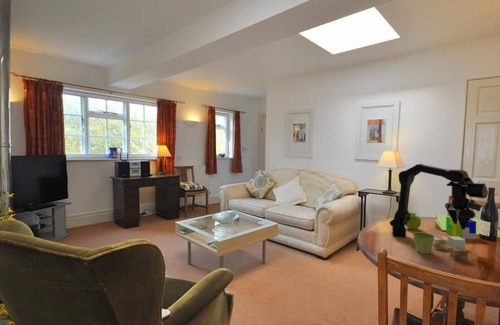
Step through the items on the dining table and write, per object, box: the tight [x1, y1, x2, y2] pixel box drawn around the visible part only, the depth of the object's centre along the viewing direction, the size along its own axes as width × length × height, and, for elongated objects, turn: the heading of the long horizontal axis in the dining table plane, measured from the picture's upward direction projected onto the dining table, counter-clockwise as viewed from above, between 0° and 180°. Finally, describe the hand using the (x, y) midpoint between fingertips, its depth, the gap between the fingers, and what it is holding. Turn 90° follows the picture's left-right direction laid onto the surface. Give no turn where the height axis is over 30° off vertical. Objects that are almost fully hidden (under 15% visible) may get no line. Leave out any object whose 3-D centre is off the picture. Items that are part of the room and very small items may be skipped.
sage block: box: [447, 235, 466, 249], centre depth 135 cm, size 5×5×5 cm
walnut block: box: [450, 246, 469, 263], centre depth 122 cm, size 5×5×5 cm
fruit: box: [405, 212, 422, 231], centre depth 166 cm, size 9×9×10 cm
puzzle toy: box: [445, 216, 477, 240], centre depth 151 cm, size 10×10×10 cm
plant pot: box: [412, 231, 436, 255], centre depth 131 cm, size 9×9×9 cm
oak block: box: [432, 235, 449, 251], centre depth 136 cm, size 6×6×5 cm
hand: (459, 226), depth 128 cm, fingers open, 9 cm apart
